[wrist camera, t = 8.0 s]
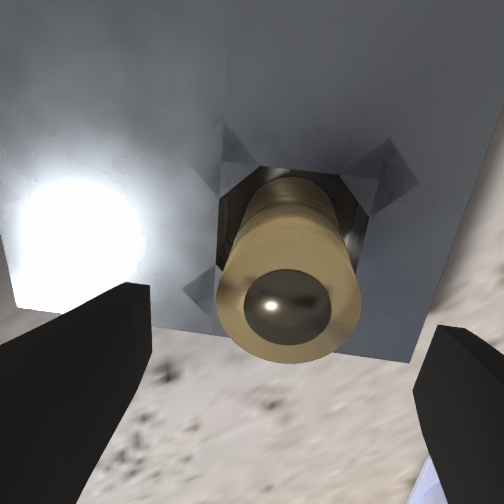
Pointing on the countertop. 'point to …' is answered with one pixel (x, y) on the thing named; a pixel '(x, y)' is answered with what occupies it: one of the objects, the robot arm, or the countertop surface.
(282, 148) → the plate
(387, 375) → the countertop surface
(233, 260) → the slip bushing
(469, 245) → the countertop surface
